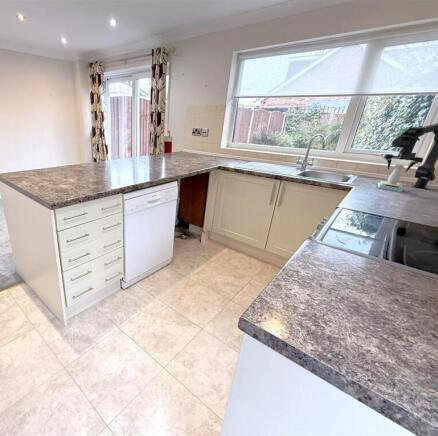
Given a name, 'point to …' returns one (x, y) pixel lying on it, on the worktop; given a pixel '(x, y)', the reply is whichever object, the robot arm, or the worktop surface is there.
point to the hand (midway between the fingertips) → (396, 170)
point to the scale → (390, 187)
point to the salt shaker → (395, 174)
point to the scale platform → (390, 184)
